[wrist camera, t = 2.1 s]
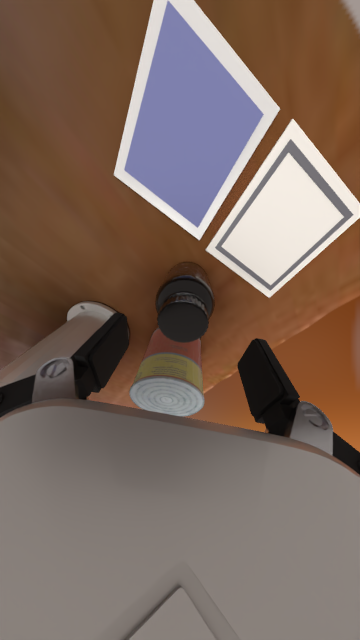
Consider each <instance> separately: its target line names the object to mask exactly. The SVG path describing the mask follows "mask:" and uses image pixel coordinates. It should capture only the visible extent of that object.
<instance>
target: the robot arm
mask: <svg viewBox="0 0 360 640" xmlns="http://www.w3.org/2000/svg"><path fill="white" fill-rule="evenodd" d="M128 346H129V329H128V326H127V317H126V316H124V314H121V313H117V312H116V311H114V310H113V309H111V308H110V307H108V306H106V305H103V304H101V303H97V302H91V301H85V302H80V303H78V304H76V305H74V306H73V307H72V308H71V309H70V310H69V312H68V314H67V322H66V323H65V324H64V325H62V326H61V327H59V328H58V329H57V330H55V331H54V332H53V333H51V334H50V335H48V336H47V337H46V338H44V339H43V340H41V341H40V342H39V343H37V344H36V345H35V346H33V347H32V348H30V349H29V350H28V351H26V352H25V353H24V354H22V355H21V356H19V357H18V358H17V359H15V360H14V361H12V362H11V363H10V364H8V365H7V366H6V367H4V368H3V369H1V370H0V640H360V452H358V451H357V450H356V449H355V448H353V447H352V446H351V445H349V444H348V443H347V442H346V441H344V440H343V439H342V438H341V437H339V436H338V435H337V434H336V433H334V432H333V428H332V424H331V422H330V420H329V419H328V418H327V416H326V415H325V414H324V413H323V412H322V411H321V410H320V409H318V408H317V407H316V406H315V405H313V404H311V403H308V402H306V401H301V402H300V401H299V399H298V398H299V397H300V396H299V395H298V393H297V391H296V390H295V388H294V386H293V385H292V383H291V381H290V380H289V378H288V376H287V375H286V373H285V372H284V370H283V368H282V366H281V365H280V363H279V361H278V360H277V358H276V357H275V355H274V353H273V352H272V350H271V348H270V347H269V345H268V343H267V342H266V340H263V339H257V338H256V339H255V340H252V341H251V343H250V345H249V346H248V348H247V350H246V351H245V353H244V354H243V356H242V358H241V359H240V361H239V362H238V370H239V373H240V377H241V380H242V384H243V387H244V390H245V394H246V397H247V401H248V404H249V407H250V411H251V414H252V416H254V418H255V421H256V422H257V423H263V424H264V423H265V426H266V430H265V433H264V432H259V431H254V430H248V429H244V428H239V427H233V426H228V425H223V424H218V423H213V422H207V421H201V420H196V419H191V418H186V417H180V416H175V415H170V414H164V413H159V412H153V411H148V410H142V409H137V408H131V407H126V406H120V405H115V404H108V403H102V402H96V401H90V400H89V399H88V396H89V395H90V394H91V392H96V393H99V391H100V390H101V388H104V387H105V386H106V384H107V382H108V380H109V379H110V377H111V375H112V374H113V372H114V370H115V368H116V367H117V365H118V363H119V362H120V360H121V358H122V356H123V355H124V353H125V351H126V350H127V348H128Z"/></svg>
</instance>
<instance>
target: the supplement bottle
mask: <svg viewBox="0 0 360 640" xmlns="http://www.w3.org/2000/svg"><path fill="white" fill-rule="evenodd" d="M155 304H156V310H157V313H158V318H157V321H158V326H159V329H160V330H161V332H162V333H163V335H165V336H166V337H167V338H169V339H170V340H173V341H175V342H179V343H181V342H182V343H186V342H187V343H189V342H193V341H194V340H197V339H198V338H201V336H203V335H204V333H205V332H206V331H207V328H208V324H209V319H210V317H211V316H212V313H213V311H214V306H215V300H214V295H213V292H212V289H211V286H210V283H209V280H208V277H207V275H206V273H205V271H204V270H203V269H202V268H201V267H200V266H199V265H197V264H195V263H192V262H183V263H180V264H177V265H176V266H174V267H173V268H172V269H171V270H170V272H169V273H168V275H167V276H166V278H165V280H164V281H163V283H162V285H161V286H160V288H159V290H158V292H157V295H156V300H155Z"/></svg>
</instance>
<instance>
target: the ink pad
mask: <svg viewBox="0 0 360 640" xmlns="http://www.w3.org/2000/svg"><path fill="white" fill-rule="evenodd" d="M279 110H280V108H279V107H278V106H277V104H276V103H275V102H274V101H273V99H272V98H271V97H270V96H269V94H268V93H267V92H266V91H265V89H264V88H263V87H262V86H261V84H260V83H259V82H258V80H257V79H256V78H255V77H254V75H253V74H252V73H251V72H250V70H249V69H248V68H247V67H246V65H245V64H244V63H243V62H242V60H241V59H240V58H239V57H238V55H237V54H236V53H235V52H234V50H233V49H232V48H231V47H230V45H229V44H228V43H227V42H226V40H225V39H224V38H223V37H222V35H221V34H220V33H219V31H218V30H217V29H216V28H215V26H214V25H213V24H212V23H211V21H210V20H209V19H208V18H207V16H206V15H205V14H204V13H203V11H202V10H201V9H200V8H199V6H198V5H197V4H196V3H195V1H194V0H154V2H153V6H152V10H151V15H150V19H149V23H148V28H147V32H146V37H145V41H144V45H143V50H142V54H141V58H140V63H139V67H138V72H137V76H136V80H135V85H134V89H133V93H132V98H131V102H130V106H129V111H128V115H127V120H126V124H125V128H124V133H123V137H122V141H121V146H120V150H119V154H118V159H117V163H116V168H115V172H114V176H116V177H117V178H118V179H120V180H121V181H122V182H124V183H125V184H126V185H127V186H129V187H130V188H131V189H133V190H134V191H135V192H137V193H138V194H139V195H141V196H142V197H143V198H144V199H146V200H147V201H148V202H150V203H151V204H152V205H154V206H155V207H156V208H158V209H159V210H160V211H162V212H163V213H164V214H165V215H167V216H168V217H169V218H171V219H172V220H173V221H175V222H176V223H177V224H179V225H180V226H181V227H183V228H184V229H185V230H186V231H188V232H189V233H190V234H192V235H193V236H194V237H196V238H197V239H198V240H200V239H201V237H202V235H203V234H204V232H205V231H206V229H207V227H208V226H209V224H210V222H211V221H212V219H213V217H214V216H215V214H216V213H217V211H218V209H219V208H220V206H221V204H222V203H223V201H224V200H225V198H226V196H227V195H228V193H229V191H230V190H231V188H232V187H233V185H234V183H235V182H236V180H237V178H238V177H239V175H240V173H241V172H242V170H243V169H244V167H245V165H246V164H247V162H248V160H249V159H250V157H251V156H252V154H253V152H254V151H255V149H256V147H257V146H258V144H259V143H260V141H261V139H262V138H263V136H264V134H265V133H266V131H267V130H268V128H269V126H270V125H271V123H272V121H273V120H274V118H275V116H276V115H277V113H278V112H279Z"/></svg>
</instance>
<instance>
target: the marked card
mask: <svg viewBox="0 0 360 640" xmlns="http://www.w3.org/2000/svg"><path fill="white" fill-rule="evenodd" d="M359 218H360V203H359V202H358V201H357V199H356V198H355V197H354V196H353V194H352V193H351V192H350V191H349V189H348V188H347V187H346V185H345V184H344V183H343V182H342V180H341V179H340V178H339V177H338V175H337V174H336V173H335V171H334V170H333V169H332V168H331V166H330V165H329V164H328V163H327V161H326V160H325V159H324V157H323V156H322V155H321V154H320V152H319V151H318V150H317V149H316V147H315V146H314V145H313V143H312V142H311V141H310V140H309V138H308V137H307V136H306V134H305V133H304V132H303V131H302V129H301V128H300V127H299V126H298V124H297V123H296V122H295V120H294V119H292V120H291V121H290V123H289V124H288V126H287V128H286V129H285V131H284V132H283V134H282V135H281V137H280V138H279V140H278V141H277V143H276V144H275V146H274V147H273V149H272V150H271V152H270V153H269V155H268V156H267V158H266V159H265V161H264V162H263V164H262V165H261V167H260V168H259V170H258V171H257V173H256V174H255V176H254V177H253V179H252V180H251V182H250V183H249V185H248V186H247V188H246V190H245V191H244V193H243V194H242V196H241V197H240V199H239V200H238V202H237V203H236V205H235V206H234V208H233V209H232V211H231V212H230V214H229V215H228V217H227V218H226V220H225V221H224V223H223V224H222V226H221V227H220V229H219V230H218V232H217V233H216V235H215V236H214V238H213V239H212V241H211V242H210V244H209V245H208V247H207V248H206V251H208V252H209V253H210V254H212V255H213V256H214V257H216V258H217V259H218V260H220V261H221V262H222V263H224V264H225V265H226V266H227V267H229V268H230V269H231V270H233V271H234V272H235V273H237V274H238V275H239V276H241V277H242V278H243V279H245V280H246V281H247V282H249V283H250V284H251V285H253V286H254V287H255V288H257V289H258V290H259V291H261V292H262V293H263V294H265V295H266V296H267V297H271V296H272V295H273V294H274V293H275V292H276V291H277V290H278V289H280V288H281V287H282V286H283V285H284V284H285V283H286V282H288V281H289V280H290V279H291V278H292V277H293V276H294V275H295V274H297V273H298V272H299V271H300V270H301V269H302V268H303V267H304V266H306V265H307V264H308V263H309V262H310V261H311V260H312V259H313V258H315V257H316V256H317V255H318V254H319V253H320V252H321V251H323V250H324V249H325V248H326V247H327V246H328V245H329V244H330V243H332V242H333V241H334V240H335V239H336V238H337V237H338V236H339V235H341V234H342V233H343V232H344V231H345V230H346V229H347V228H348V227H350V226H351V225H352V224H353V223H354V222H355V221H356V220H357V219H359Z"/></svg>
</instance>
